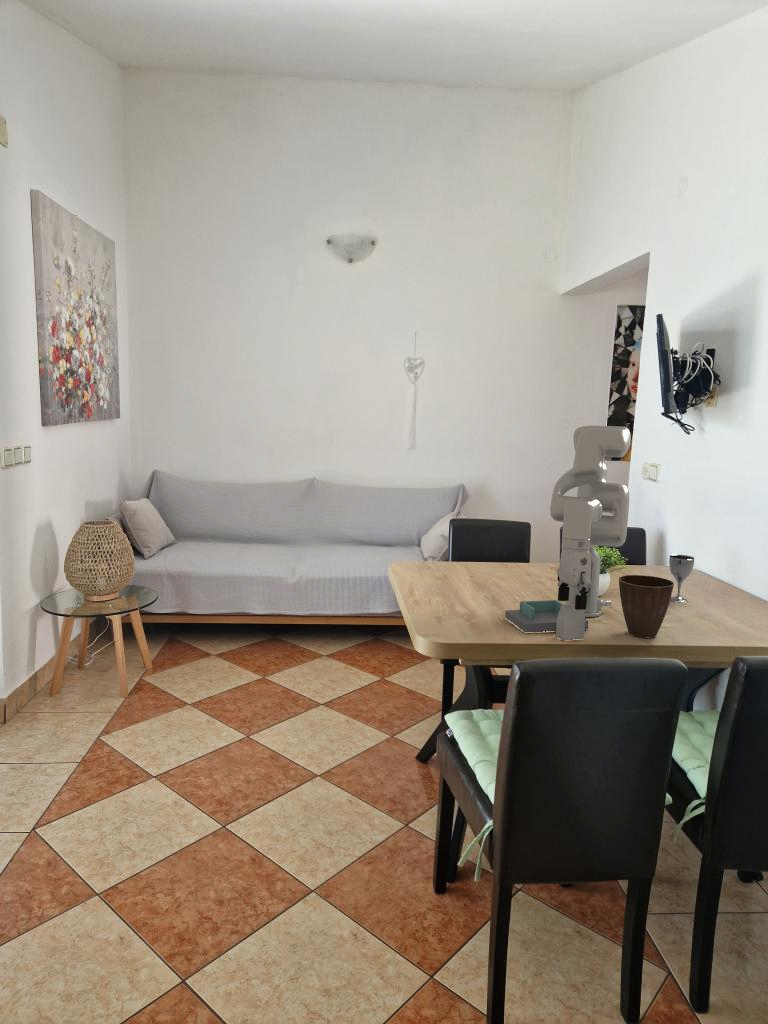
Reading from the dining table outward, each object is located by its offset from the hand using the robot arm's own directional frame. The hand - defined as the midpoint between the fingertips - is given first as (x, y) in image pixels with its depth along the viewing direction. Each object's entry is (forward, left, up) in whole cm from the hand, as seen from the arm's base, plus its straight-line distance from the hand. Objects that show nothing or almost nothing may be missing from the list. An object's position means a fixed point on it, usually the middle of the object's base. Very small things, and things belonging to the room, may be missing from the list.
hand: (571, 605), depth 203 cm
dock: (+1, -14, -10) cm, 17 cm away
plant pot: (-23, -1, -10) cm, 26 cm away
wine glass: (-59, -34, -10) cm, 69 cm away
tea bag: (0, -1, -10) cm, 10 cm away
